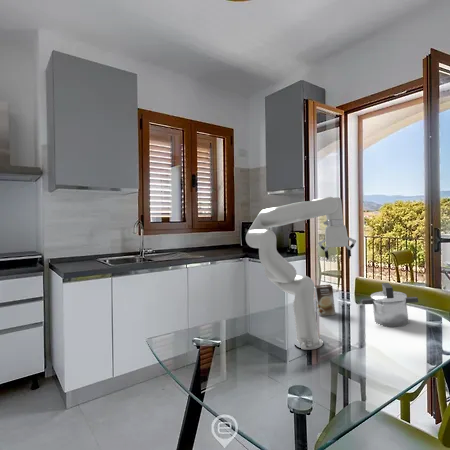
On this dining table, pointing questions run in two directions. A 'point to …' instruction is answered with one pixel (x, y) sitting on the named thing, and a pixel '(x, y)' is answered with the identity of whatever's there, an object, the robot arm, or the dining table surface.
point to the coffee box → (324, 300)
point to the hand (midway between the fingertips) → (338, 258)
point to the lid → (388, 295)
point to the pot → (391, 312)
